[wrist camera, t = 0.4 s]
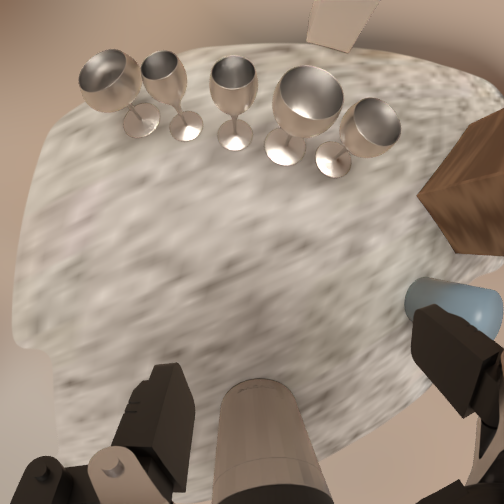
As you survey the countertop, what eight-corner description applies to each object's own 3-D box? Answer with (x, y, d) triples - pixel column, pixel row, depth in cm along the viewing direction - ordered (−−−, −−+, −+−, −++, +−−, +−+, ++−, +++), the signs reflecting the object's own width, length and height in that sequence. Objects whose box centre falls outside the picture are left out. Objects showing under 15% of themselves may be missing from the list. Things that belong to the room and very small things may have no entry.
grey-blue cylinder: (439, 318, 33) (499, 341, 21) (404, 327, 32) (463, 358, 20) (440, 274, 32) (505, 285, 20) (404, 280, 32) (469, 295, 20)
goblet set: (355, 143, 31) (412, 96, 18) (348, 188, 32) (409, 159, 18) (128, 98, 30) (84, 39, 17) (113, 140, 30) (56, 93, 17)
